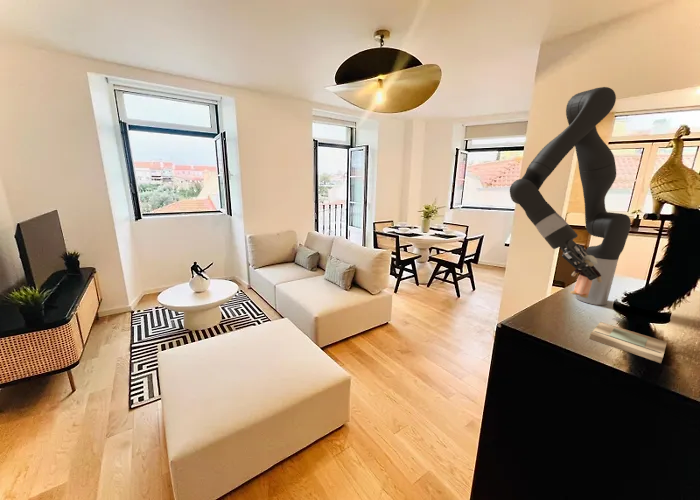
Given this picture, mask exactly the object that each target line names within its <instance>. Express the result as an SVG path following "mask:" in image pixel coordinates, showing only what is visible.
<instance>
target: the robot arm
mask: <svg viewBox="0 0 700 500" xmlns="http://www.w3.org/2000/svg"><path fill="white" fill-rule="evenodd" d="M616 101H617V95H616V93H615V91H614V90H613V88H610V87H609V86H608V87H607V86H601V87H596V88H592V89H588V90H585V91H581V92H578V93H576V94H574V95H572V96H571V97H570V98H569V99H568V101H567V104H566V107H565V115H566V120H567V124H568V126H567V127H565V129H564V130H563V131H561V132H560V133H559V134H557V136H556V137H554V138H553V139H552V140H550V141H549V142H548V143H547V144H545V145H544V147H543V148H541V150H540V151H539V152H538V153H537V155H535V157H534V158H533V160H532V161H531V162H530V163H529V165H528V166H527V168H526V171H525V173H524V175H523V176H522V177H521V178H520V179H517V180H515V181H513V183H511V185H510V187H509V195H510V199H511V201H512V202H513V203H514V204H516V205H519V206H520V207H521V208H522V210H523V211H524V212H525V215H526V216H527V218H528V219H529V220H530V222H531V223H532V224H533V225H534V226H535V228H536V229H537V231H538V233H539V234H540V236H542V238H544V240H545V241H546V242H547V244H548V245H549V246H550V247H551V249H553V250H556V249H559V248H560V249H561V251H562V255H561V257H562V258H563V259H564V260H565V261H566V262H567V263H569V264H570V265H571V266H572V267H573V268H574V270H575V269H579V270H581V271H582V272H583V273H584V274H585V275H586V276H587V278H588V279H589V280H592V285H591V289H590V291H589V294H588V296H589V297H588V298H584V297H581V296H579V295H575V299H577V300H579V301H580V302H584V303H586V304H590V305H595V306H596V305H597V306H606V305H607V304H608V300H609V296H610V294H611V289H612V285H613V281H614V278H615V277H614V276H615V273H616V269H617V266H618V261H619V257H620V256H621V254H622V252H623V251H624V249H625V245H626V241H627V239H628V237H629V234H630V230H631V227H632V221H631V220H632V219H631V218H630V216H629V215H627V214H625V213H619V212H610V211H609V212H608V211H607V209H606V204H605V203H606V202H605V201H606V196H607V194H608V192H609V191H610V189H611V188H612V186H613V184H614V183H615V181H616V178H617V167H616V160H615V156H614V153H613V152H612V150H611V149H610V147H609V146H608V145H607V144H606V142H604V140H603V139H602V137H601V136H600V134H599V133H598V130H597V126H598V124H599V123H601V122H602V121H603V119H605V118H607V116H608V115H609V114H610V113H611V111H612V110H613V109H614V107H615V104H616ZM574 148H575V153H576V157H577V163H578V171H579V176H580V177H579V178H580V182H581V187H582V193H583V200H584V218H585V219H584V220H585V229H586V231H587V233H588V234H589V235H591V236H593V237H595V238H602V242H601V243H600V244H598V245H592V246H588V247H586V248H585V247H584V245H582V244H581V245H580V244H579V243H576V242H575V241H574V240H575V239H576V238H578V236H579V235H578V234H577V232H576V231H575V230H574V229H573V228H572V227H571V226H570V224H568V222H567V221H566V220H565V219H564V218H563V217H562V216H561V215H560V214H559V213H558V212H556V210H555V209H554V208H553V207H552V206H551V205H550V203H548V202H547V201H546V200H545V198H544V196H543V195H542V193H541V192H540V188H541V187H542V186H543V184H544V182H545V181H546V180H547V179H548V178H549V177H550V175H551V174H552V173H553V172H554V171H555V169H556V168H557V167H558V166H559V165H560V163H561V162H562V161H563V159H564V158H566V156H567V155H568V154H569V153H570V152H571V150H572V149H574ZM586 255H592V256H594V257H595V258H596V260H597V264H595V265H594V266H592V268H594V269H596V270H597V271H598V272H599V273H600V274H601V280H602V282H601V283H599V282H598V280H597V277H598V275H597V274H596V273H595V272H594V271H593V270H592V268H591V267H590V266H589V265H588V263H587V262H586V261H585V260H584V259H585V256H586ZM588 266H589V267H588Z"/></svg>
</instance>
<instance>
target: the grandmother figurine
mask: <svg viewBox="0 0 700 500" xmlns="http://www.w3.org/2000/svg"><path fill="white" fill-rule="evenodd" d="M584 260H585V261H586V262H587V263H588V265H589V266H590V267H591V268H592V266H594V265H595V264H597V260H596V258H595V257H594V256H592V255H586V256H585V259H584ZM589 266H588V267H589ZM592 270H593V271H594V272H595V273H596V274H597V275H598V277H597V280H598V282H599V283H601V282H602V280H601V274H600V273H599V272H598V271H597V270H596V269H594V268H592ZM579 273H580V274H579ZM578 274H579V275H578ZM576 275H578V276H577V279H576V282H575V285H574V288H573V290H571V291H570V292H569V293H570V294H572V295H575V296H576V295H579V296H581V297H584V298H588V297H589V296H588V294H589V291H590V289H591V285H592V280H589V279H588V278H587V276H586V275H585V274H584V273H583V272H582V271H581V270H579V269H575V268H574V271H573V272H572V273H571V277H576Z"/></svg>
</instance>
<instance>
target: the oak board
mask: <svg viewBox="0 0 700 500" xmlns="http://www.w3.org/2000/svg"><path fill="white" fill-rule="evenodd" d="M589 340H593V341H595V342H598V343H601V344H605V345H606V346H609V347H613V348H616V349H618V350H621V351H624V352H626V353H630V354H633V355H636V356H639V357H641V358H645V359H646V360H650V361H653V362H656V363H659V364H662V361H663V358H664V354H665V351H666V347H667V344H668V342H667V341H665V340H661V339H658V338H655V337H652V336H649V335H645V334H641V333H639V332H635V331H631V330H628V329H625V328H622V327H619V326H615V325H612V324H608V323H606V322H602V321H600V322H599V323H598V324H597V326H596V327H595V328H594V329H593V330H592V332H591V333H590V335H589Z"/></svg>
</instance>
